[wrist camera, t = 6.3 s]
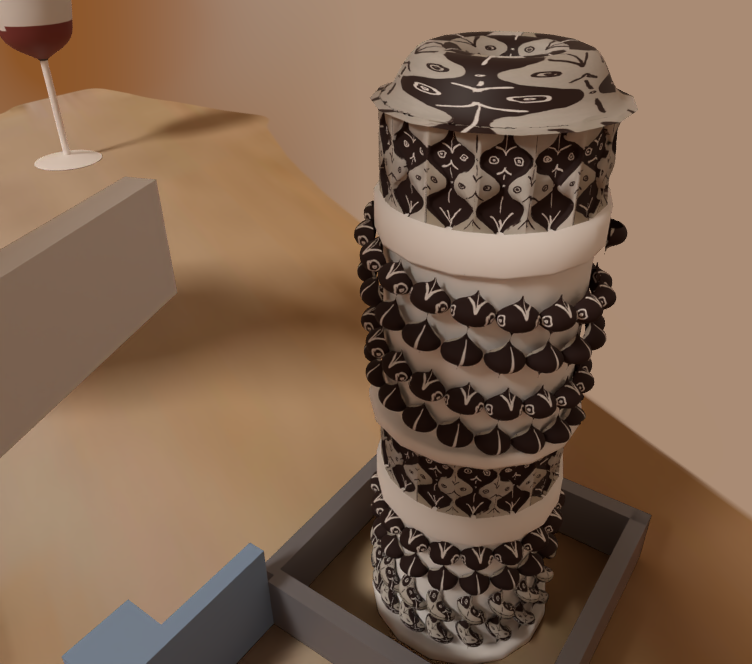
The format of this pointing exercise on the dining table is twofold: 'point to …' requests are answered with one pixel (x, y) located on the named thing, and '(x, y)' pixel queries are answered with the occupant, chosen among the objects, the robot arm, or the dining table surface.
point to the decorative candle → (482, 325)
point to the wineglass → (44, 61)
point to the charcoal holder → (382, 654)
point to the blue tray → (189, 623)
